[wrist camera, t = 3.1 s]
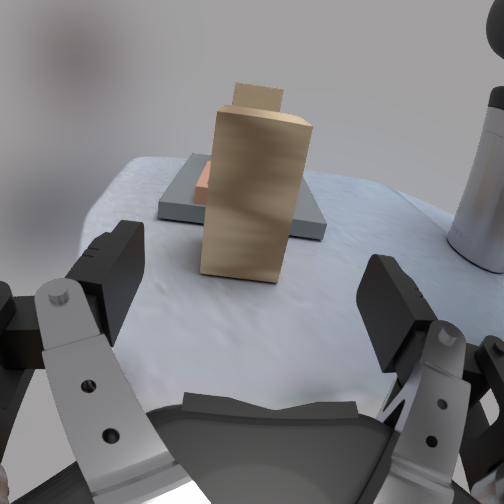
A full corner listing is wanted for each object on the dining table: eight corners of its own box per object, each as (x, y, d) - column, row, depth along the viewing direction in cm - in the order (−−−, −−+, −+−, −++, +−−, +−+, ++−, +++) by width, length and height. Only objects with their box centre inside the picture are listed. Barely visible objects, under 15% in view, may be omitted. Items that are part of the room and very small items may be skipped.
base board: (296, 178, 42) (313, 95, 36) (322, 239, 27) (356, 107, 21) (191, 164, 40) (201, 78, 35) (158, 217, 26) (168, 77, 20)
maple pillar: (272, 244, 25) (298, 116, 20) (277, 282, 21) (312, 126, 16) (208, 236, 24) (224, 104, 19) (199, 273, 20) (217, 111, 15)
